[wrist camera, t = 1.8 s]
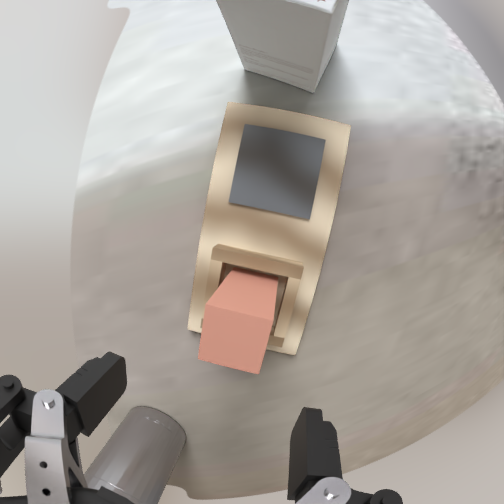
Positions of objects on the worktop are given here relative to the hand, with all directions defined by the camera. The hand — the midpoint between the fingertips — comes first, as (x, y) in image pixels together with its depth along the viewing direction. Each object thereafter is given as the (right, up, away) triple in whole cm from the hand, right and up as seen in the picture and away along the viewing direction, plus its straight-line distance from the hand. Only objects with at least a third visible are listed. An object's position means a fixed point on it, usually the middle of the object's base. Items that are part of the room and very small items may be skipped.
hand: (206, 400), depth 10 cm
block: (+2, +3, +14) cm, 15 cm away
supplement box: (+6, +25, +11) cm, 28 cm away
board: (+3, +8, +14) cm, 17 cm away
